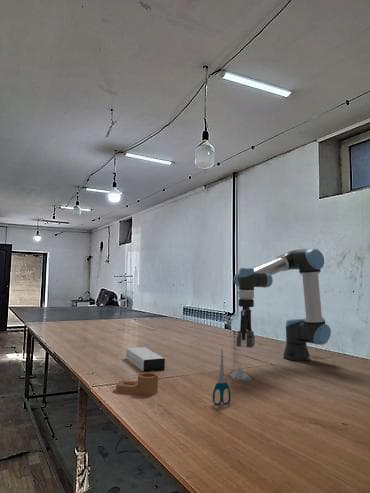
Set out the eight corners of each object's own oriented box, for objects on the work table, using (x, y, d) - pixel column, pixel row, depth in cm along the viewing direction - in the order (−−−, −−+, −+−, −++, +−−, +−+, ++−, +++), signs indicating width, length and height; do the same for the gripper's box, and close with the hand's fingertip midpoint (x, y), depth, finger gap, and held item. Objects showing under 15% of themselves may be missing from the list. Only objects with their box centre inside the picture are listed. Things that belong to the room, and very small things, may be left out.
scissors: (213, 405, 135) (214, 350, 137) (212, 404, 136) (213, 349, 138) (230, 404, 137) (230, 349, 138) (229, 403, 138) (229, 348, 139)
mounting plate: (244, 374, 181) (244, 363, 181) (250, 380, 169) (250, 369, 169) (228, 374, 180) (228, 363, 180) (233, 380, 168) (233, 369, 169)
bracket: (160, 390, 153) (161, 373, 153) (153, 396, 145) (153, 378, 145) (121, 386, 158) (122, 369, 159) (112, 391, 150) (112, 374, 151)
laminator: (164, 370, 187) (164, 358, 187) (141, 372, 182) (141, 360, 182) (144, 357, 218) (144, 346, 218) (124, 359, 213) (124, 348, 213)
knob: (239, 344, 185) (239, 328, 186) (255, 345, 183) (255, 329, 183) (236, 346, 178) (236, 330, 179) (252, 347, 175) (252, 331, 176)
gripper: (243, 297, 194) (242, 341, 191) (233, 299, 175) (233, 347, 172) (257, 298, 191) (257, 343, 189) (249, 299, 172) (249, 349, 170)
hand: (245, 345), depth 180 cm, fingers closed on knob, 8 cm apart
